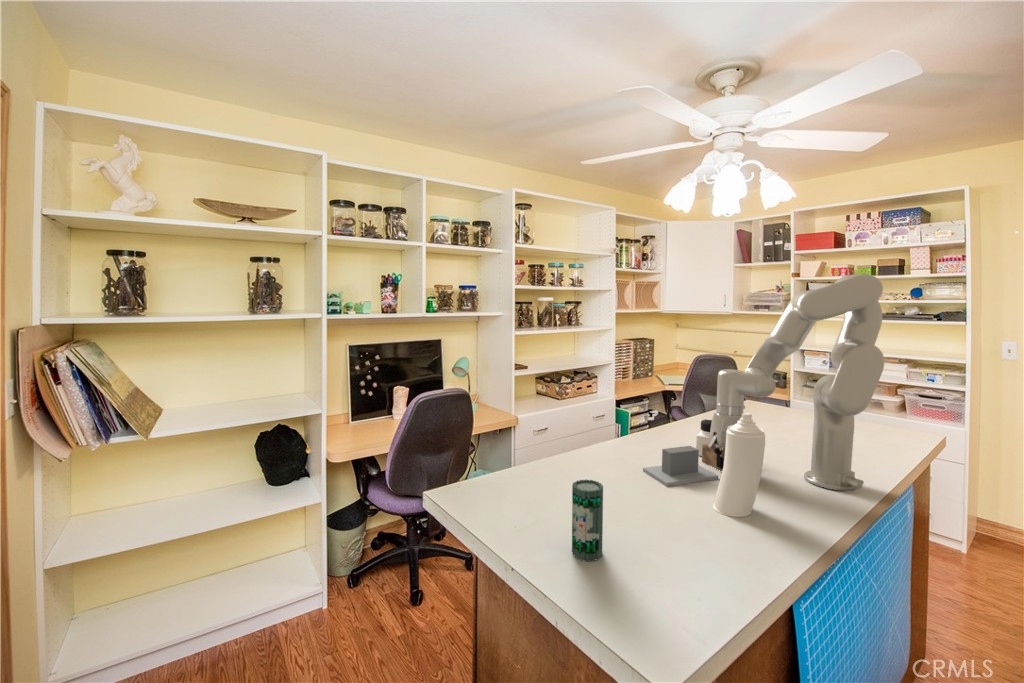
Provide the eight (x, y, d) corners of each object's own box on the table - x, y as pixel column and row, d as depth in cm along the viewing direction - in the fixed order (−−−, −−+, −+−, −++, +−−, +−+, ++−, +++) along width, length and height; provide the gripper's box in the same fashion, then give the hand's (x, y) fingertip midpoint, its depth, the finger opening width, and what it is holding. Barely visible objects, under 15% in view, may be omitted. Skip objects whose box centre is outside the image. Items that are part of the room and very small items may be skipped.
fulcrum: (718, 478, 135) (719, 452, 135) (666, 486, 130) (667, 459, 129) (691, 464, 147) (692, 440, 146) (643, 471, 142) (643, 446, 141)
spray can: (721, 494, 124) (724, 405, 122) (764, 506, 118) (769, 411, 115) (708, 510, 115) (712, 414, 113) (755, 523, 109) (760, 421, 106)
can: (567, 554, 96) (567, 486, 95) (581, 542, 101) (582, 477, 99) (593, 564, 92) (593, 494, 91) (606, 551, 97) (607, 484, 96)
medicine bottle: (717, 459, 151) (719, 424, 150) (695, 455, 155) (696, 421, 154) (722, 453, 157) (724, 420, 155) (701, 449, 161) (702, 416, 160)
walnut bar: (755, 481, 133) (756, 462, 133) (744, 483, 132) (745, 463, 131) (711, 460, 150) (712, 443, 150) (701, 462, 149) (702, 444, 149)
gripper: (742, 405, 145) (739, 460, 147) (698, 408, 140) (696, 465, 142) (761, 410, 138) (758, 468, 140) (715, 415, 133) (713, 474, 135)
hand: (727, 466), depth 141 cm, fingers closed on walnut bar, 4 cm apart
